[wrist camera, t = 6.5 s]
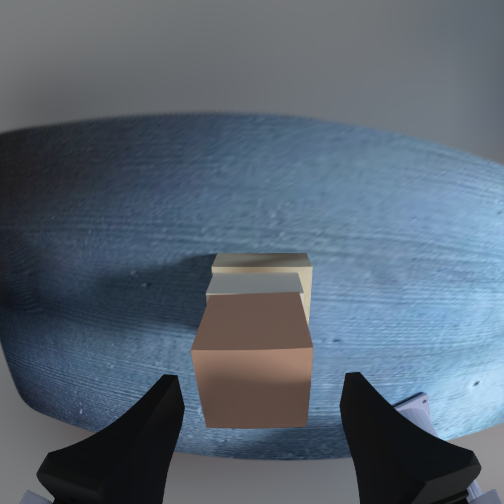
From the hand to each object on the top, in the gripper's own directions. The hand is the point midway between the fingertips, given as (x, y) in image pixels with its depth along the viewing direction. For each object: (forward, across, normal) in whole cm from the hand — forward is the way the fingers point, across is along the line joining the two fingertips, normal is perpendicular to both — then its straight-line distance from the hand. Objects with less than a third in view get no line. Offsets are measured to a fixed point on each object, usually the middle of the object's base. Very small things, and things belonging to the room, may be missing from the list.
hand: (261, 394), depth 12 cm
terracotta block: (+4, 0, 0) cm, 5 cm away
